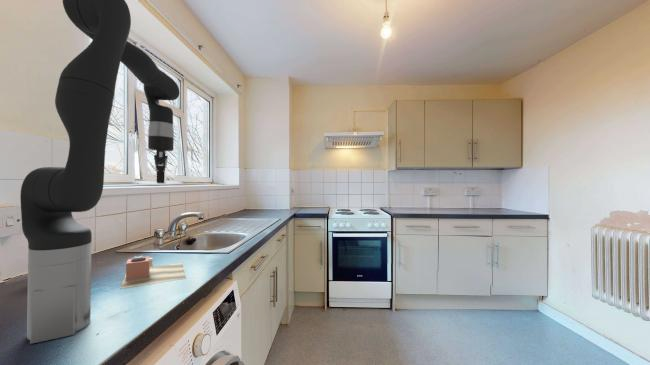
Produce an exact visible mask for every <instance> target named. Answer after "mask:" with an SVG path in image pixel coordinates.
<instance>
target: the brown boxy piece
mask: <svg viewBox="0 0 650 365" xmlns="http://www.w3.org/2000/svg"><path fill="white" fill-rule="evenodd" d="M133 258H134V257H132V258H128V259H127V261H126V263H125V275H126V281H127V280H134V279H141V278H148V277H149V272H150V267H153V257H151V256H143V261H137V262H133Z"/></svg>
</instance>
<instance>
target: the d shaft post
mask: <svg viewBox="0 0 650 365" xmlns="http://www.w3.org/2000/svg"><path fill="white" fill-rule="evenodd" d="M143 257H144V255H137V256H133V257H132V258H133V262H137V261H143Z"/></svg>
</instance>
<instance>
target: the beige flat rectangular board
mask: <svg viewBox="0 0 650 365" xmlns="http://www.w3.org/2000/svg"><path fill="white" fill-rule="evenodd" d="M185 279H187V277H186V271H185V268H184V264H183V262H180V263H179V262H178V263H173V264H172V263H171V264H164V265H156V266H152V267H150V272H149V277H148V278H141V279H134V280H127V281H126V274H125V276H124V278H123V281H122V283H121V286H120V287H119V289H126V288H127V289H128V288H133V287H141V286H146V285H147V286H148V285H152V284H153V285H154V284H159V283H166V282H173V281H178V280H179V281H180V280H185Z"/></svg>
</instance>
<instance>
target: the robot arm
mask: <svg viewBox="0 0 650 365" xmlns="http://www.w3.org/2000/svg"><path fill="white" fill-rule="evenodd" d="M62 5H63V6H62V7H63V9H64V12H65V14H66V15H67V17H68V19H69V20H70V21H71V22H72V23H73V25H74V26H76V28H77V29H78V30H80V32H82V34H85V35H86V36H87V37H88V38H89V39H91V42H90V43H89V45H88V46H87V47H86V48H85V49H83V50H82V51H81V52H80V53H79V54H77V56H75V57H74V58H73V59H72V60H71V61H70V62H69V63H68V64H67V65H66V66H65V67H64V68H63V70H62V71H61V73H60V75H59V79H58V84H57V88H56V92H55V98H54V101H55V102H54V105H55V110H56V112H57V114H58V116H59V118H60V121H61V122H62V124H63V127H64V128H65V131H66V133H67V135H68V140H69V147H68V156H67V161H66V163H65V166H50V167H49V166H44V167H39V168H36V169H33V170H31V171H30V172H29V173H27V175H26V176H25V178H24V179H23V180H22V184H21V188H20V194H19V195H20V198H19V199H20V212H21V213H20V215H21V228H22V233H23V236H24V237H25V239H26V240H27V243H28V244H27V245H28V248H27V249H28V251H27V252H28V255H27V261H28V262H27V304H26V306H27V307H26V321H27V322H26V339H27V340H28V341H29V345H31V344H35V343H42V342H47V341H50V340H54V339H55V340H56V339H60V338H64V337H69V336H73V335H74V336H75V334H76V333H77V332H78V331H80V330H82V329H85V327H87V326H88V325H89V324H90V322H91V307H92V305H91V300H92V298H91V297H92V296H91V295H92V294H91V291H92V286H91V285H92V282H91V281H92V235H93V234H92V231H91V229H90V228H89V227H87V226H84V225H82V224H80V222H78V221H77V220H75V219H74V216H73V213H83V212H84V213H85V212H87V211H90V210H92V209H94V208H95V207H96V206H97V205H98V204H99V201H100V200H101V197H102V194H103V188H104V183H105V165H106V164H105V160H106V146H107V138H108V131H109V126H110V119H111V114H112V110H113V105H114V100H115V92H116V86H117V85H116V84H117V81H118V80H117V79H118V74H119V69H120V64H123V65H124V66H125V67H126V68H127V69H128V70H129V71H130V72H131V74H133V76H135V77H136V79H137V80H138V81H139V82H140V83H141V84H143V93H144V95H145V98H146V102H147V105H148V106H147V107H148V112H149V122H148V124H149V125H148V132H147V135H148V137H147V139H148V141H147V148H148V150H151V151H155V154H154V155H153V160H154V167H155V171H156V183H158V184H164V183H165V175H166V174H165V172H166V168H167V165H168V164H167V163H168V155H166V152H172V151H174V142H175V141H174V134H175V132H174V112H173V109H172V108H171V107H169V106H166V105H162V104H160V101H175V100H177V99H178V98H179V96H180V88H179V86H178V84H177V83H176V81H175V80H174V79H173V78H171V76H169V75H168V74H167V73H165V72H164V71H163V70H161V69H160V68H159V67H158V65H157V64H156V63H155V61H154V60H153V59H152V57H151V56H149V54H147V53H146V52H145V51H143V50H142V49H141V48H139V47H138V46H136V45H134V44H133V43H131V42H130V41H128V38H129V35H130V31H131V25H132V18H131V12H130V8H129V6H128V3H127V2H126V0H62Z"/></svg>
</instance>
